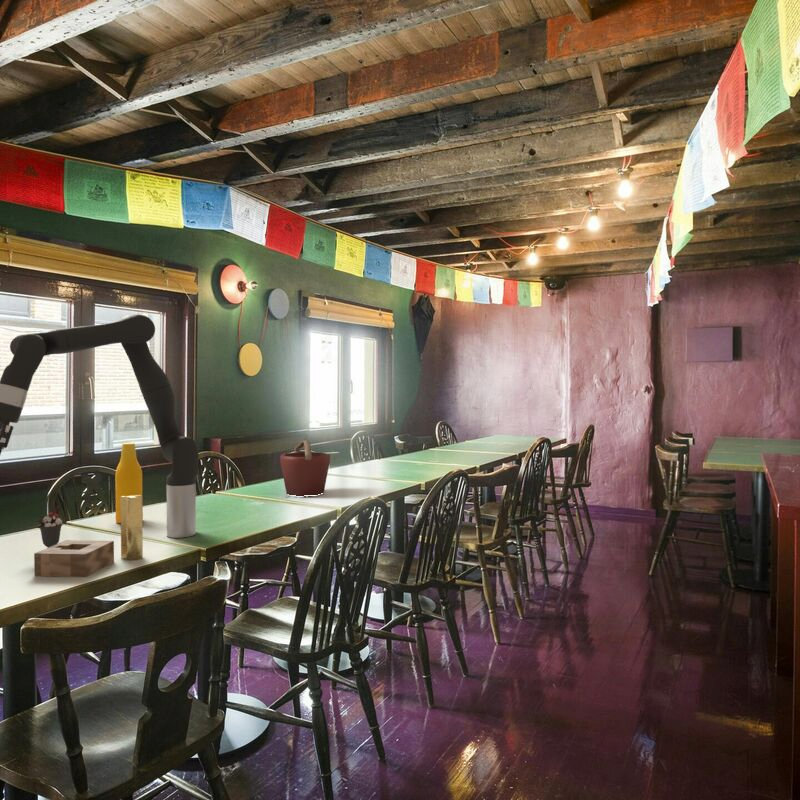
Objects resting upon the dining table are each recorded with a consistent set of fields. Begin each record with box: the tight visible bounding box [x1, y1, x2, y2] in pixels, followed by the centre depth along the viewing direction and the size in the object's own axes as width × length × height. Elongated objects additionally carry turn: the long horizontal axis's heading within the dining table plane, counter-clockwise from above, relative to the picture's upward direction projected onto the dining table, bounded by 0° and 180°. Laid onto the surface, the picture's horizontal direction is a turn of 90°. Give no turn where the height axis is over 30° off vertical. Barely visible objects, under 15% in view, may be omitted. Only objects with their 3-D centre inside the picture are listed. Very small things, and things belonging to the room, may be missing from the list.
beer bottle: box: [114, 442, 144, 524], centre depth 226 cm, size 9×9×29 cm
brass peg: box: [120, 495, 144, 561], centre depth 178 cm, size 4×6×18 cm
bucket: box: [279, 439, 331, 496], centre depth 284 cm, size 24×22×25 cm
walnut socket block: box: [33, 539, 115, 578], centre depth 168 cm, size 14×14×6 cm
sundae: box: [36, 506, 64, 548], centre depth 177 cm, size 7×7×15 cm
